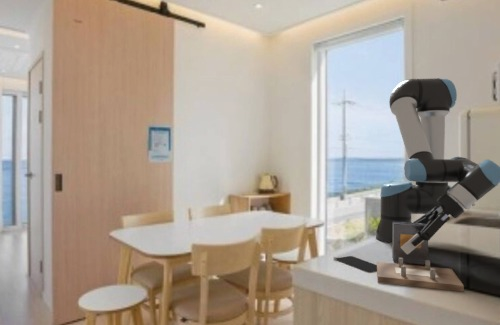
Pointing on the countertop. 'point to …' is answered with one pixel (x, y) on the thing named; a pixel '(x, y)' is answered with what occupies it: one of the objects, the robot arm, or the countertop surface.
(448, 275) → the dock
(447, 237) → the countertop surface
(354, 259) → the smartphone
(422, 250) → the block
